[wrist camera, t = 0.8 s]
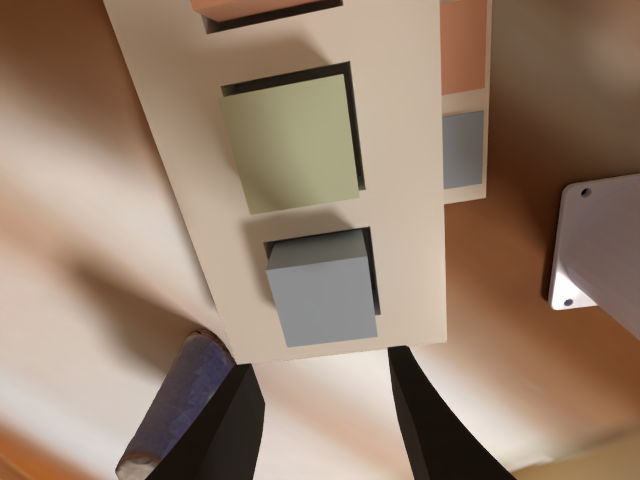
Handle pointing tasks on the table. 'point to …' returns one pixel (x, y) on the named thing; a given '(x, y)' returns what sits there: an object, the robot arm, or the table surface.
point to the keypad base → (368, 145)
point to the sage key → (292, 144)
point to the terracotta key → (241, 7)
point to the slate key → (322, 289)
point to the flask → (177, 403)
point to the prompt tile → (465, 96)
